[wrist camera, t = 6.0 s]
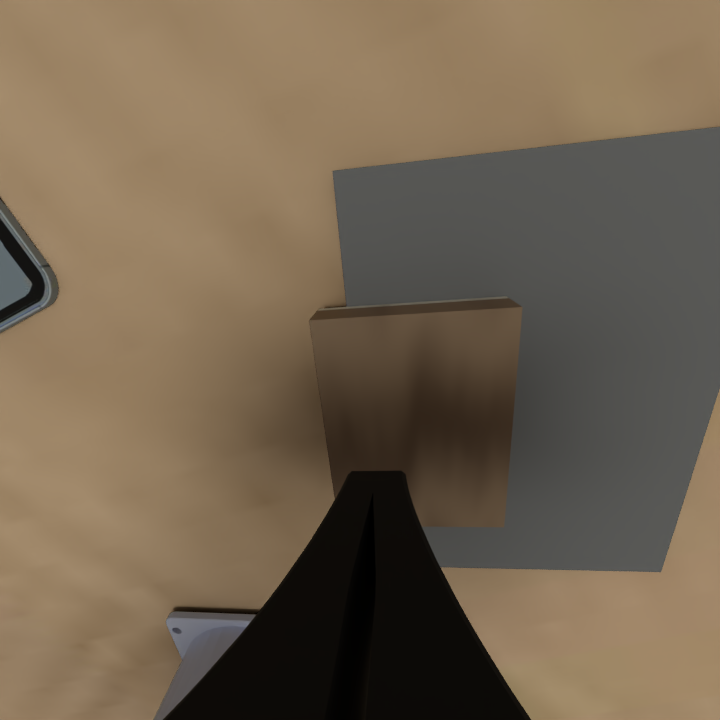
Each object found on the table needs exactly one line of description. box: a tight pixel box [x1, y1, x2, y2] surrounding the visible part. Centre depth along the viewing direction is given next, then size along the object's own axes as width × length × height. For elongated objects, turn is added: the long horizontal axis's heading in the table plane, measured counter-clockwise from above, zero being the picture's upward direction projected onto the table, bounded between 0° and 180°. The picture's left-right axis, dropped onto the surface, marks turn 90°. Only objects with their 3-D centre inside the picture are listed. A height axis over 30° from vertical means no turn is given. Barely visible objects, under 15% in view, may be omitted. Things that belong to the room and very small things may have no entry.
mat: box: [333, 127, 720, 572], centre depth 12 cm, size 16×12×1 cm
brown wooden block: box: [309, 296, 523, 527], centre depth 12 cm, size 8×2×6 cm
